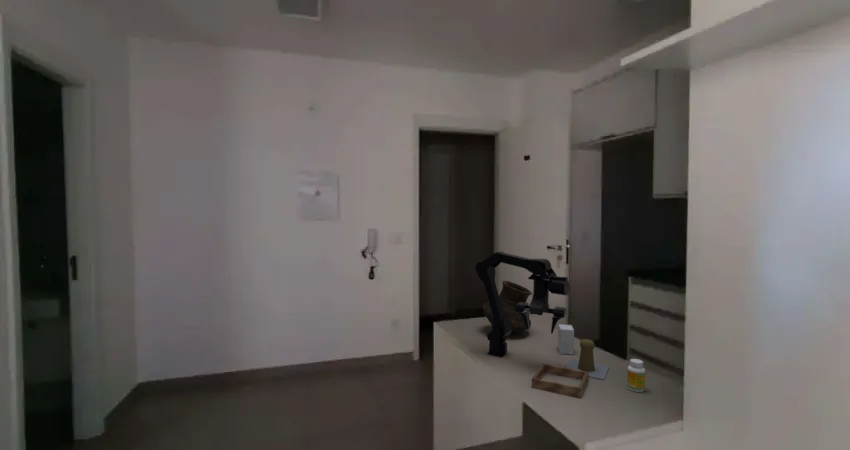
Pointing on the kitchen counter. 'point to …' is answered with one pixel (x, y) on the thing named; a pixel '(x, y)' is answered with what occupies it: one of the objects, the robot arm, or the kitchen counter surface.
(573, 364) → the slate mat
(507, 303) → the ceramic pot
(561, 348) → the small box
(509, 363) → the kitchen counter surface
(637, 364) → the supplement bottle
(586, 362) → the cork
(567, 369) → the walnut frame
